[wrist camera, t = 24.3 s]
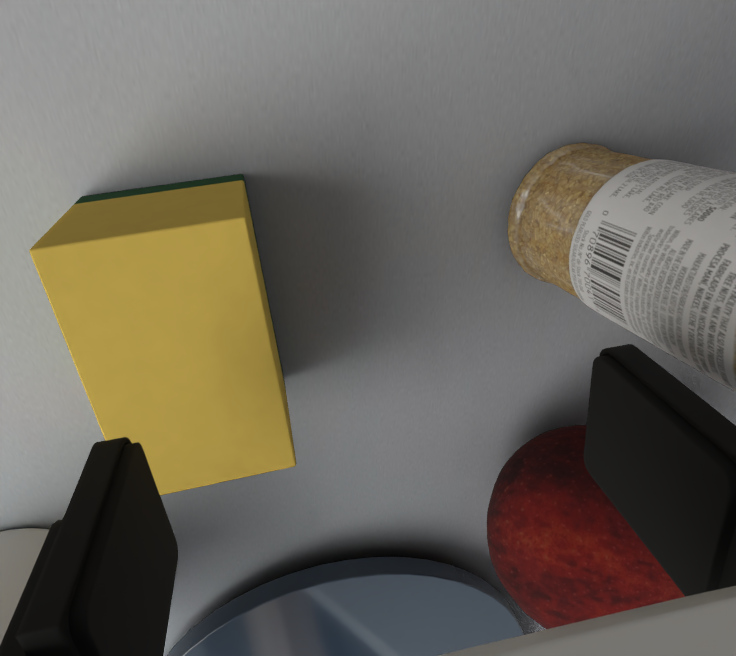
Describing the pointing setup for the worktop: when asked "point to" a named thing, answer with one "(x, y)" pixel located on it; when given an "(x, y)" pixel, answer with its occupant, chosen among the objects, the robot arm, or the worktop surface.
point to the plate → (358, 613)
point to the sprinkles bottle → (637, 246)
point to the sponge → (172, 328)
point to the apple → (567, 538)
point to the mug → (16, 567)
